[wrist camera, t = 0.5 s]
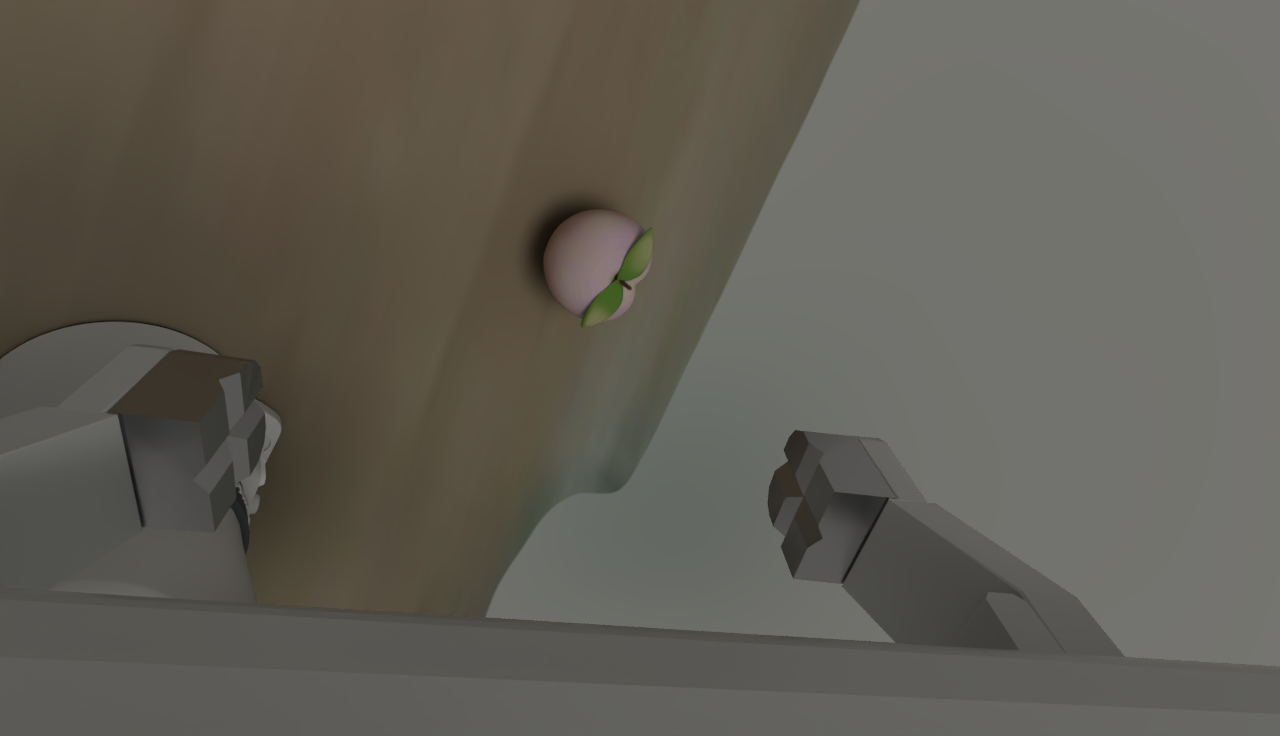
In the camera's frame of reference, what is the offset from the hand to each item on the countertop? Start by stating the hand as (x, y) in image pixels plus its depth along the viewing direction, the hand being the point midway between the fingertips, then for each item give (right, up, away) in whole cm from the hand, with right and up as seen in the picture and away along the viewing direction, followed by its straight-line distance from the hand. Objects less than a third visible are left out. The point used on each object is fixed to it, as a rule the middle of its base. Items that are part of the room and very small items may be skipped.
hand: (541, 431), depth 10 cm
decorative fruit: (-5, +12, +46) cm, 48 cm away
